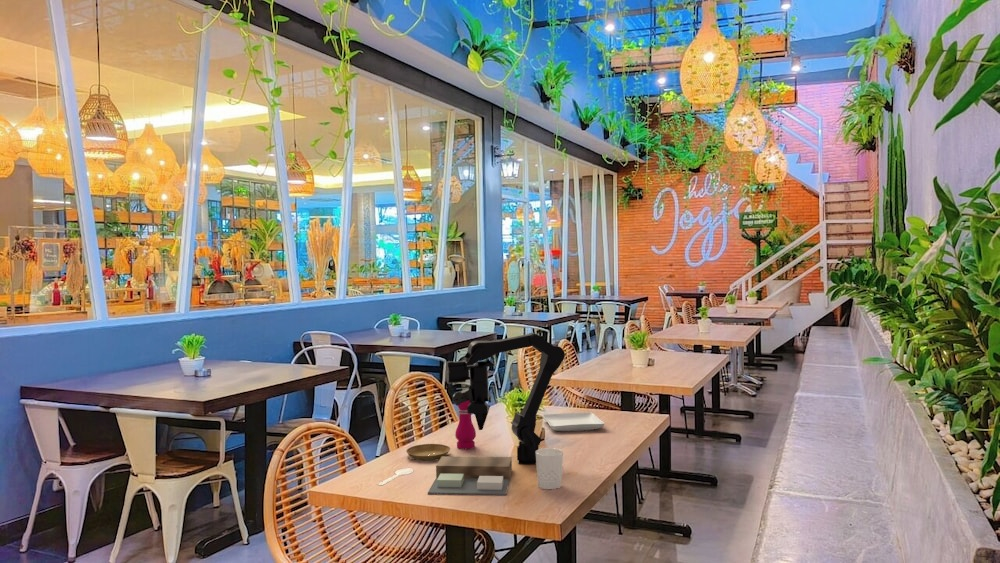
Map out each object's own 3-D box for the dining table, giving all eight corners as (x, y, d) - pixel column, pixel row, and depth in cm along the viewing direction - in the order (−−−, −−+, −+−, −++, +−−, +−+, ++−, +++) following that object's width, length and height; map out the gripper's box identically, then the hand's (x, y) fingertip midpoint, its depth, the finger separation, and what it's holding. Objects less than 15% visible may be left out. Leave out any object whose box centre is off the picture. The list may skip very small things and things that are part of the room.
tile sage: (461, 480, 196) (461, 487, 196) (463, 473, 202) (464, 480, 202) (436, 479, 196) (437, 486, 196) (440, 473, 202) (440, 480, 202)
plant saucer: (434, 465, 220) (434, 457, 220) (397, 460, 227) (397, 452, 227) (458, 454, 233) (458, 446, 233) (423, 449, 240) (423, 441, 240)
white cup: (555, 492, 192) (555, 456, 192) (531, 487, 196) (530, 453, 196) (568, 484, 199) (567, 450, 198) (544, 480, 203) (543, 446, 202)
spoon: (370, 485, 201) (370, 483, 201) (403, 468, 218) (403, 466, 218) (386, 487, 199) (385, 485, 199) (418, 470, 215) (418, 468, 215)
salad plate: (541, 421, 279) (541, 413, 279) (592, 419, 281) (592, 411, 281) (550, 434, 258) (550, 425, 258) (605, 432, 260) (605, 423, 260)
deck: (511, 469, 213) (511, 457, 213) (509, 479, 203) (509, 466, 203) (442, 469, 215) (441, 456, 215) (436, 479, 205) (436, 465, 205)
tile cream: (501, 482, 193) (501, 489, 193) (503, 476, 199) (503, 482, 199) (477, 482, 194) (477, 489, 194) (479, 475, 200) (479, 482, 200)
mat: (509, 480, 203) (509, 478, 203) (505, 495, 190) (505, 493, 190) (436, 479, 205) (436, 477, 205) (427, 494, 192) (427, 492, 192)
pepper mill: (452, 448, 239) (451, 391, 238) (460, 443, 245) (460, 388, 245) (470, 450, 236) (469, 392, 235) (479, 445, 243) (478, 389, 242)
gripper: (457, 376, 227) (458, 423, 227) (450, 387, 208) (452, 437, 209) (490, 375, 226) (492, 422, 227) (486, 386, 208) (488, 437, 208)
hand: (480, 429), depth 218 cm, fingers closed
